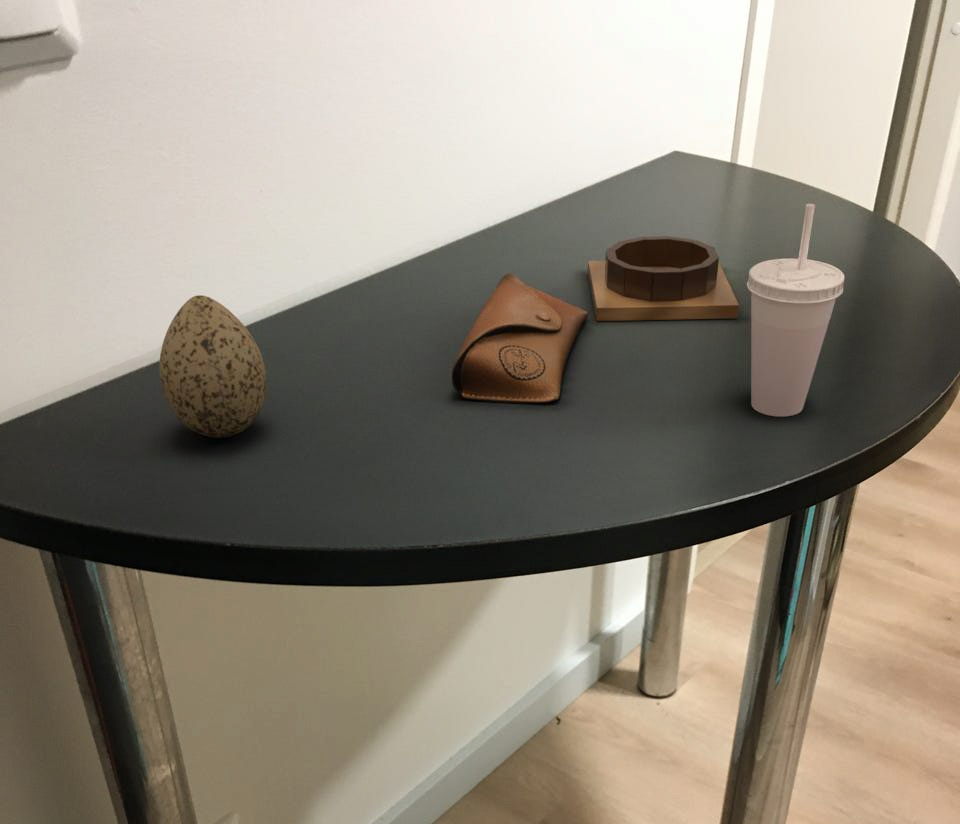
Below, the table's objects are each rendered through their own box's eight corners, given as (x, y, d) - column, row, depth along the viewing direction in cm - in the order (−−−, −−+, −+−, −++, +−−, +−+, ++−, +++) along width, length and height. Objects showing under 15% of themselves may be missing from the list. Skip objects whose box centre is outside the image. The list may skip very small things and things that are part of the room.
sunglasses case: (565, 399, 81) (518, 321, 78) (485, 438, 84) (437, 365, 81) (591, 310, 95) (552, 241, 92) (522, 347, 98) (482, 281, 95)
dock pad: (715, 270, 104) (720, 230, 101) (737, 318, 94) (742, 275, 92) (587, 273, 104) (589, 233, 102) (596, 321, 94) (597, 278, 92)
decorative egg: (230, 465, 75) (204, 323, 69) (152, 443, 78) (120, 305, 72) (294, 423, 80) (275, 287, 74) (217, 404, 83) (193, 272, 77)
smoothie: (838, 402, 81) (875, 203, 72) (794, 433, 77) (827, 228, 69) (760, 379, 84) (787, 187, 76) (715, 408, 80) (737, 209, 72)
